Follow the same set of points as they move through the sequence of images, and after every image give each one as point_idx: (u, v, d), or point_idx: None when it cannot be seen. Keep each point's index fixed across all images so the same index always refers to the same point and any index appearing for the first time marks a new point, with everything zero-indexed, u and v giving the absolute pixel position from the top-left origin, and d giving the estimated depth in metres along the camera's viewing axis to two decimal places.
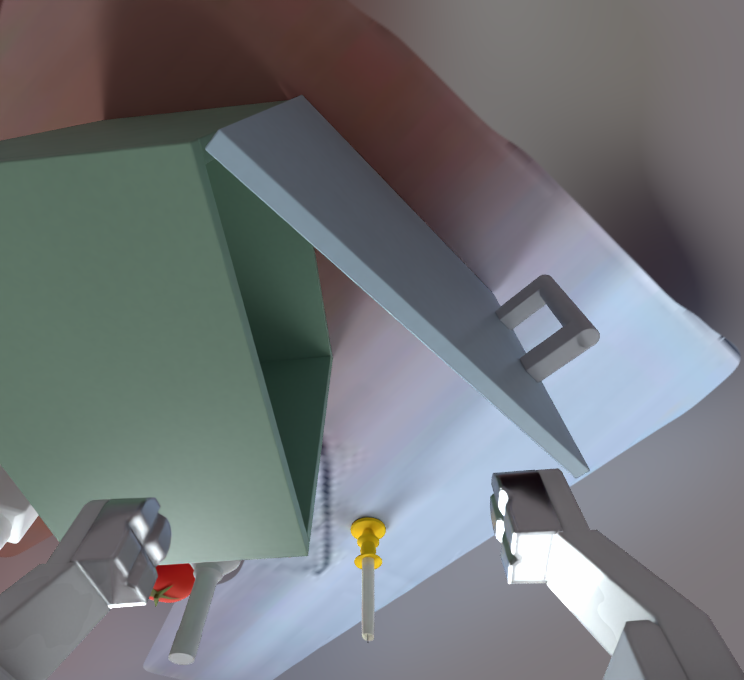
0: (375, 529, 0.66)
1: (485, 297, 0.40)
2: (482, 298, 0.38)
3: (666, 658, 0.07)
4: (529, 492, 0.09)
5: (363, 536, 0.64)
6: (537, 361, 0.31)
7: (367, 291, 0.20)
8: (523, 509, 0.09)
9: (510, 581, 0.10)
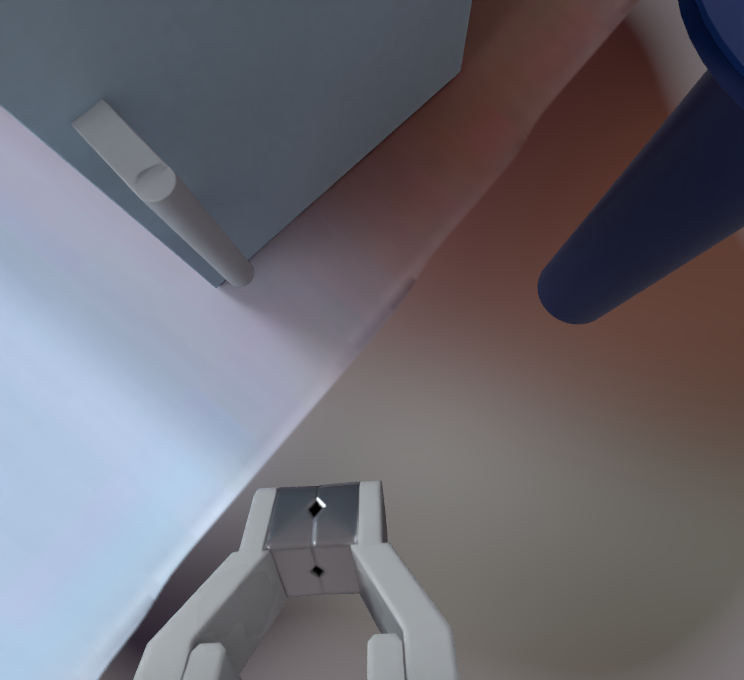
0: None
1: (222, 218, 0.28)
2: (224, 194, 0.26)
3: (394, 671, 0.07)
4: (341, 504, 0.10)
5: None
6: (118, 114, 0.17)
7: None
8: (329, 521, 0.09)
9: (326, 592, 0.10)
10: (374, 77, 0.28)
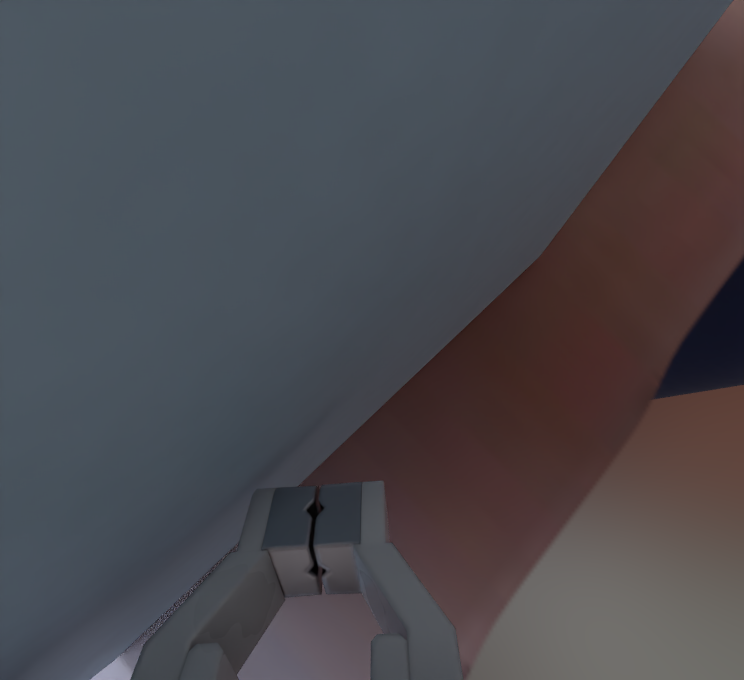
0: None
1: (85, 666, 0.13)
2: (73, 667, 0.12)
3: (398, 671, 0.07)
4: (344, 504, 0.10)
5: None
6: None
7: None
8: (331, 521, 0.09)
9: (328, 592, 0.10)
10: (402, 362, 0.14)
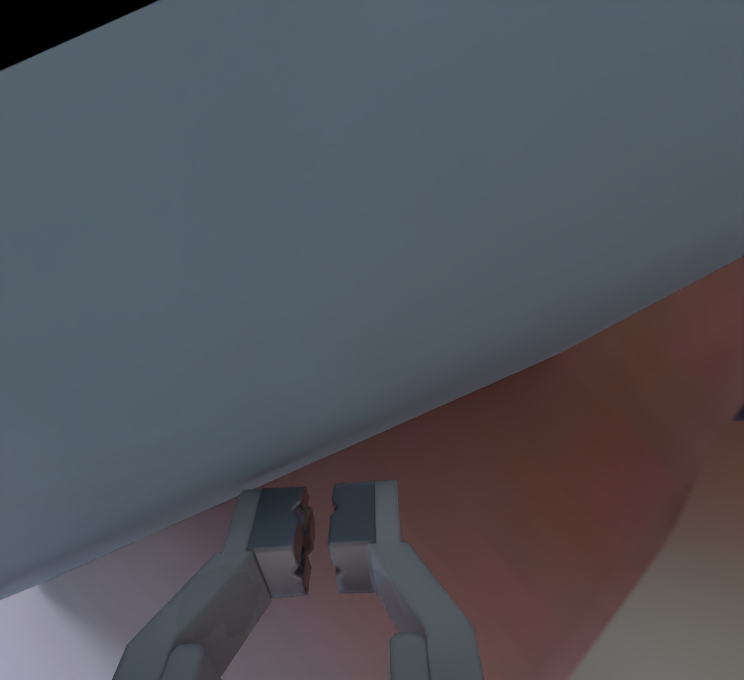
0: None
1: None
2: None
3: (418, 670, 0.07)
4: (358, 503, 0.10)
5: None
6: None
7: None
8: (346, 520, 0.09)
9: (342, 591, 0.10)
10: (362, 434, 0.14)
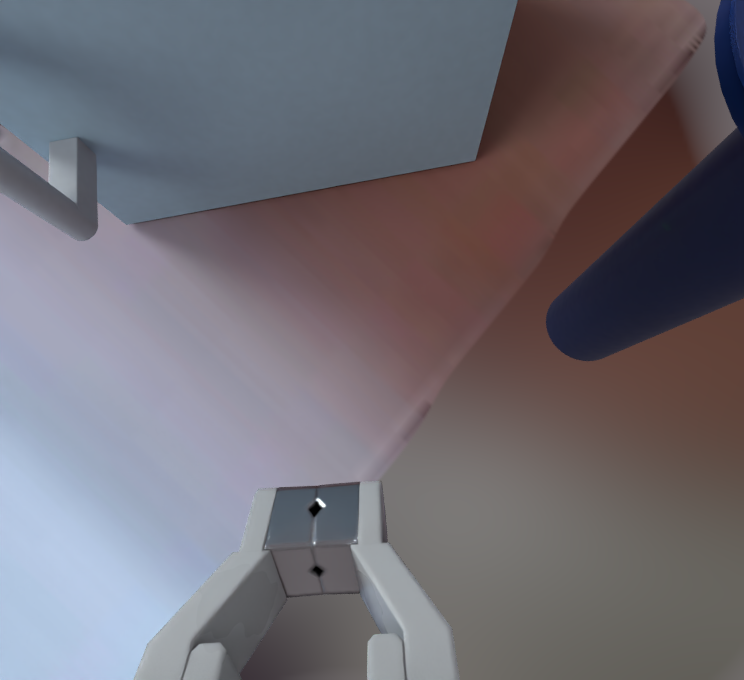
0: None
1: (126, 169, 0.27)
2: (126, 149, 0.25)
3: (395, 671, 0.07)
4: (341, 504, 0.10)
5: None
6: None
7: None
8: (329, 521, 0.09)
9: (326, 592, 0.10)
10: (338, 120, 0.26)
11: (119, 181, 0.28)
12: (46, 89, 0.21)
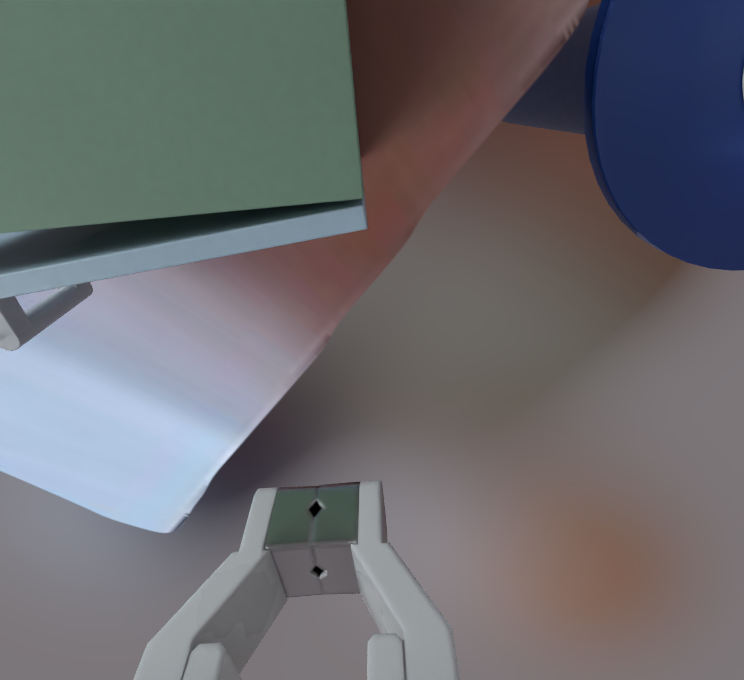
0: None
1: None
2: None
3: (395, 671, 0.07)
4: (341, 504, 0.10)
5: None
6: None
7: (160, 246, 0.18)
8: (329, 522, 0.09)
9: (326, 592, 0.10)
10: None
11: None
12: None
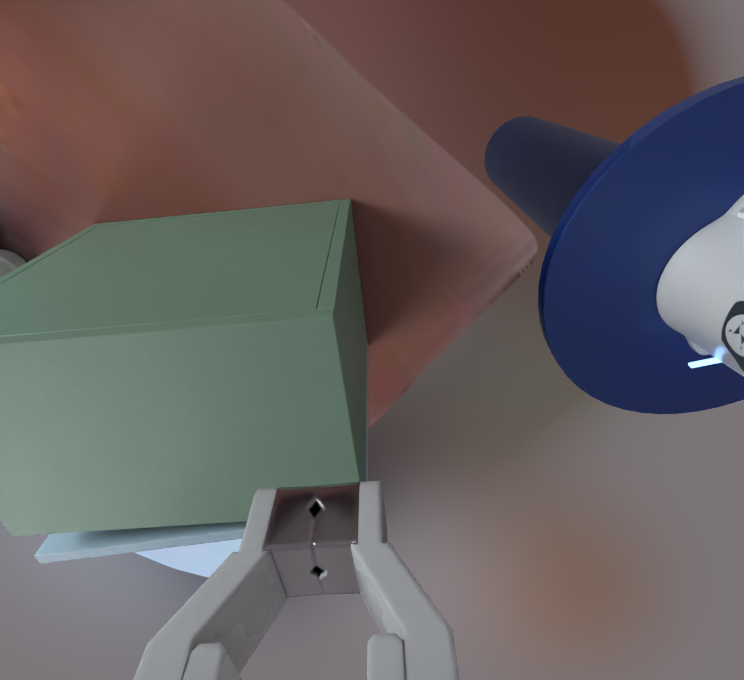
0: None
1: None
2: None
3: (395, 671, 0.07)
4: (341, 504, 0.10)
5: None
6: None
7: None
8: (329, 522, 0.09)
9: (326, 592, 0.10)
10: None
11: None
12: None
